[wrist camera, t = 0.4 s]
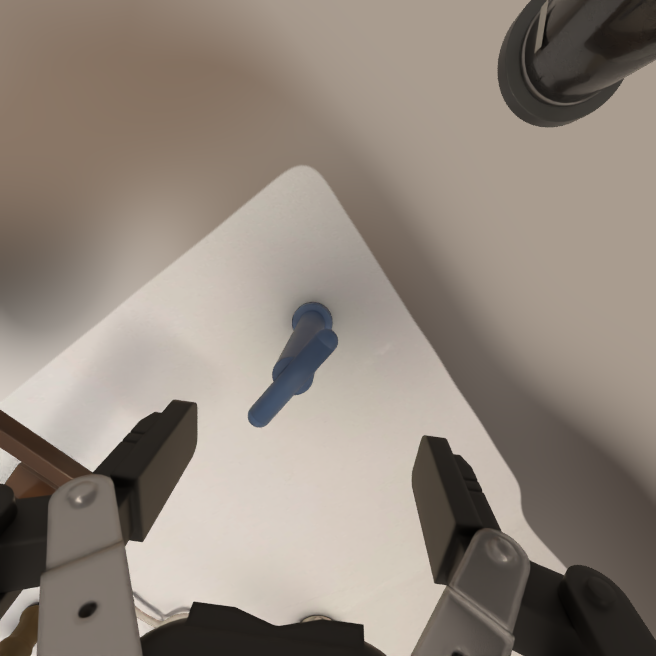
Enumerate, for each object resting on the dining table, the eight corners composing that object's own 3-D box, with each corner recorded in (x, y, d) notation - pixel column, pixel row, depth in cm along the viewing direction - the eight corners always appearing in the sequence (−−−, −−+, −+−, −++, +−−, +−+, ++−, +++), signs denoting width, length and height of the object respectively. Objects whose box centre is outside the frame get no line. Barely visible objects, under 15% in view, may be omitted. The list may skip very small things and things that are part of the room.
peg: (353, 305, 38) (360, 357, 22) (303, 361, 40) (275, 448, 24) (322, 279, 38) (305, 312, 21) (273, 337, 40) (223, 409, 23)
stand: (125, 317, 40) (-75, 392, 21) (214, 384, 42) (103, 510, 22) (-12, 514, 48) (-248, 698, 29) (66, 563, 50) (-108, 769, 30)
